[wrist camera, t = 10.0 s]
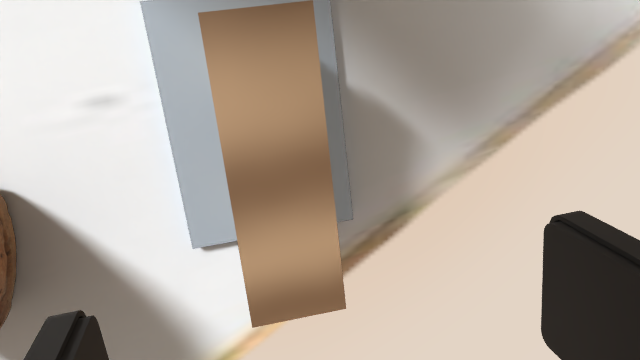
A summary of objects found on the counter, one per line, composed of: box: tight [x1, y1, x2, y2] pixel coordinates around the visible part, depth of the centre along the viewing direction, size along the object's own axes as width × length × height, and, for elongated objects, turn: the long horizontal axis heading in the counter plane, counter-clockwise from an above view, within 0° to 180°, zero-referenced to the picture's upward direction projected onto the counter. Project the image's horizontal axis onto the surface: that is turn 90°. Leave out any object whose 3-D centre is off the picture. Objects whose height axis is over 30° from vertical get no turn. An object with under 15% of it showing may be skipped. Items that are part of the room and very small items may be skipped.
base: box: [140, 0, 353, 249], centre depth 32 cm, size 17×12×9 cm
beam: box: [198, 0, 346, 328], centre depth 25 cm, size 14×4×6 cm, turn 6°
